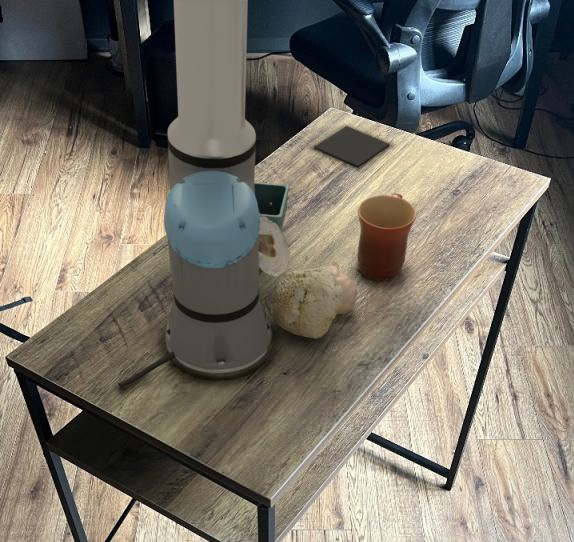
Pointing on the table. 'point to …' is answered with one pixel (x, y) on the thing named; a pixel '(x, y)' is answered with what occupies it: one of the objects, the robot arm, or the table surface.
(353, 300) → the garlic bulb
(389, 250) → the mug
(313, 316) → the decorative item
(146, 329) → the table surface
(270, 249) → the figurine
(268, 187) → the flower pot
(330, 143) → the mat
